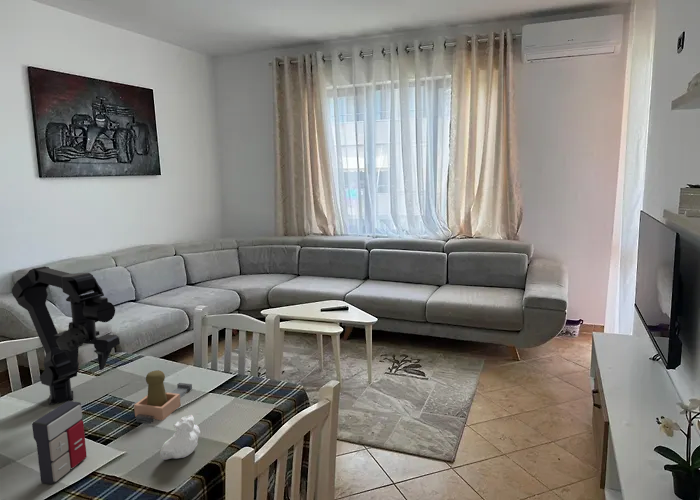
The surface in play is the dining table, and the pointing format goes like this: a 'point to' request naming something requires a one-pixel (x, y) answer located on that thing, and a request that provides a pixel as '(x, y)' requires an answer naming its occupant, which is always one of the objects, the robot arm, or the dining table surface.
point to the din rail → (181, 390)
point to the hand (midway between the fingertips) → (88, 367)
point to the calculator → (59, 441)
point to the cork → (156, 388)
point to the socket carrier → (157, 411)
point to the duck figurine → (181, 439)
